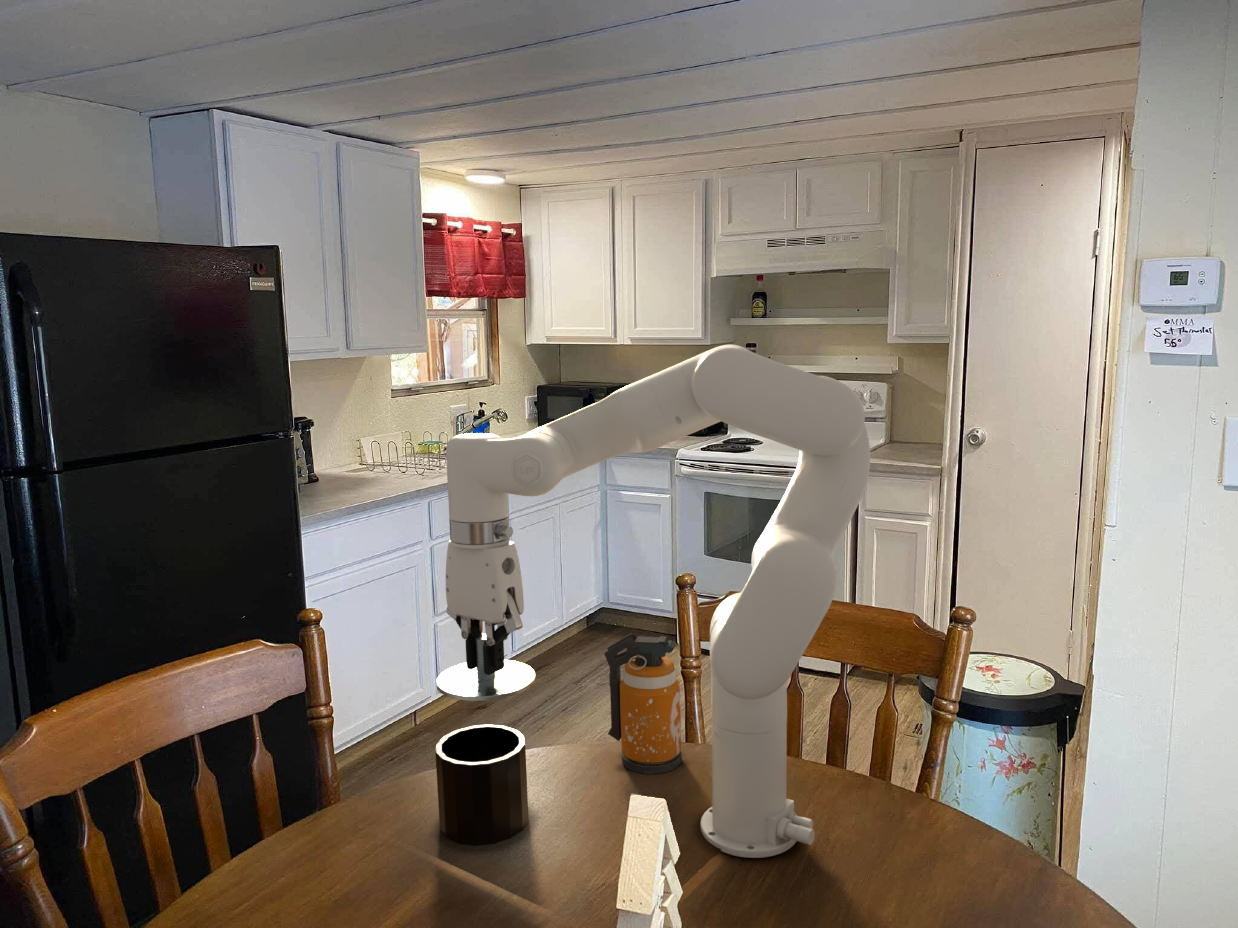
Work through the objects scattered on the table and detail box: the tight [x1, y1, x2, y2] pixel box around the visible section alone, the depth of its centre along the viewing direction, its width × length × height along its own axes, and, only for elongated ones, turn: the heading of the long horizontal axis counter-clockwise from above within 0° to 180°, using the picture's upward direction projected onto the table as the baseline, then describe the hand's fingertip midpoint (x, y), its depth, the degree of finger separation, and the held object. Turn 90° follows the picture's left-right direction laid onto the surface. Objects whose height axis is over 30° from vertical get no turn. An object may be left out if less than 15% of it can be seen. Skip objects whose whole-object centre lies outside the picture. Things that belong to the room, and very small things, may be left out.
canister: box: [603, 632, 682, 774], centre depth 136 cm, size 9×11×20 cm
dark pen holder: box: [434, 724, 530, 847], centre depth 121 cm, size 12×12×12 cm
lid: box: [435, 633, 536, 702], centre depth 119 cm, size 13×13×7 cm
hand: (485, 667), depth 119 cm, fingers closed on lid, 2 cm apart
